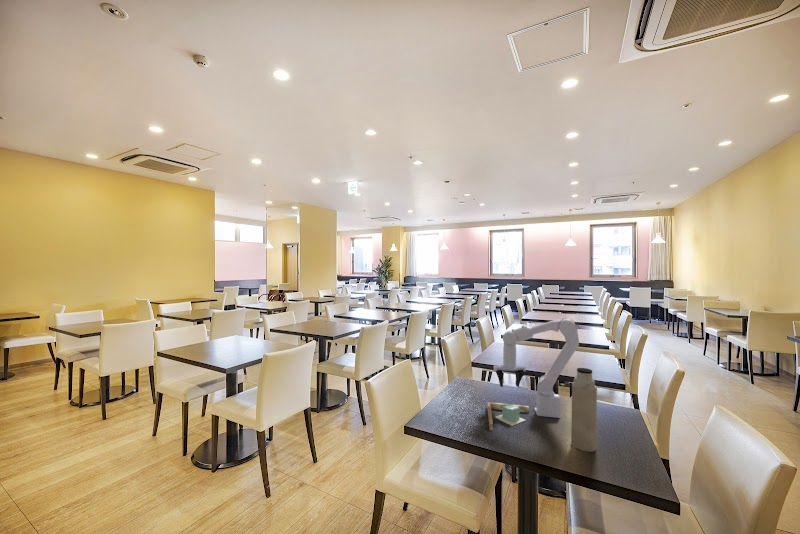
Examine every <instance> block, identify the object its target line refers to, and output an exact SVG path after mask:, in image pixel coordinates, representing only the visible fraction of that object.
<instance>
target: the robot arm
mask: <svg viewBox="0 0 800 534" xmlns="http://www.w3.org/2000/svg"><path fill="white" fill-rule="evenodd" d="M548 331H554V332H555V333H559V331H560V333H561V334H562V336H563V337H564V339H565V343H564V345H563V346H562V348H561V350H560V351H559V353H558V354H557V356H556V357H555V359H554V360H553V362H552V363H551V365H550V366H549V368H548V370H547V371H546V372H545V374H544V375H541V376H540V377H539V379H538V383H537V385H536V407H534V411H535V413H536V416H537V417H546V418H547V417H548V418H558V419H560V418H561V397H560V395H559V394H558V393H557V394H556V393H555V392H554V386H555V384H556V381H557V379H558V378H559V376H560V375H561V373H562V372H563V370H564V368H565V367H566V365H567V364H568V363H569V362H570V359H571V358H572V357H573V355H574V353H576V351H577V349H578V347H579V345H580V340H579V330H578V326H577V324H576V323H575V321H574V319H572V318H570V317H564V318H558V319H553V320H550V321H547V322H544V323H541V324H538V325H534V326H532V327H531V326H529V325H526V326H525V325H522V326H521V327H519V328H516V329H514V328H512V329H511V330H507V331H506V332H505V333H504V334H503V335H502V340H503V351H502V352H503V353H502V354H503V359H502V360H503V361H502V364H501V365H493V371H494V372H495V375H496V376H497V378H498V383H499V386H500V387H501V388H503V387H504V372H505V371H506V372H507V371H509V372H511V371H512V372H514V373H515V386H516V387H517V388H519V387H520V384H521V381H522V379H523V377H524V375H525V372H526V371H527V369H526V366H524V365H517V343H518V342H523V341H527V340H530V339H533V337H534V335H537V334H541V333H545V332H548ZM503 371H504V372H503Z"/></svg>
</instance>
